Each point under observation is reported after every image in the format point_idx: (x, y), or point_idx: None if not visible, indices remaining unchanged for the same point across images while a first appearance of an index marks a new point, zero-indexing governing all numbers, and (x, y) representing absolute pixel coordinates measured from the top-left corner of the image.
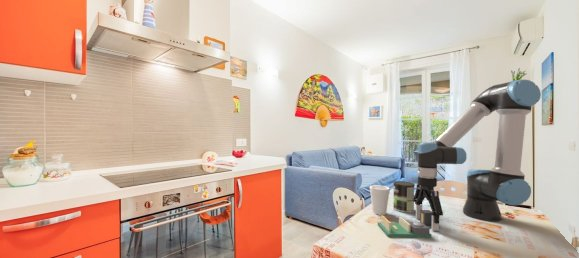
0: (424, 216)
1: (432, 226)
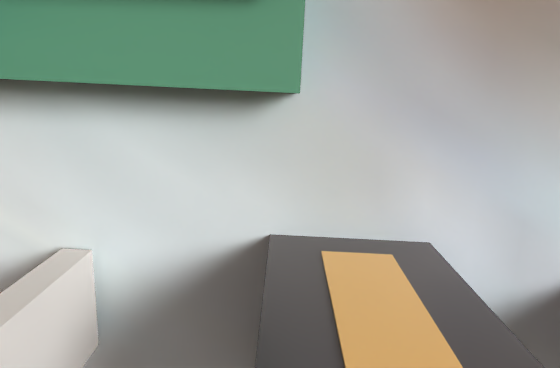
0: (276, 341)
1: (24, 282)
